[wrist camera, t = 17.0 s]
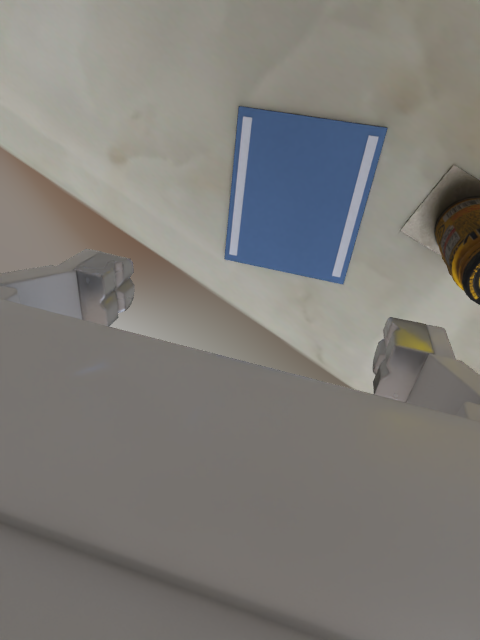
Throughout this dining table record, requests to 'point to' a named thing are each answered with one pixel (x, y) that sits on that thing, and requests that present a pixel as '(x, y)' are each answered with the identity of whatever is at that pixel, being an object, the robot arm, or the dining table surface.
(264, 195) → the napkin
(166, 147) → the dining table surface
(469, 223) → the condiment
